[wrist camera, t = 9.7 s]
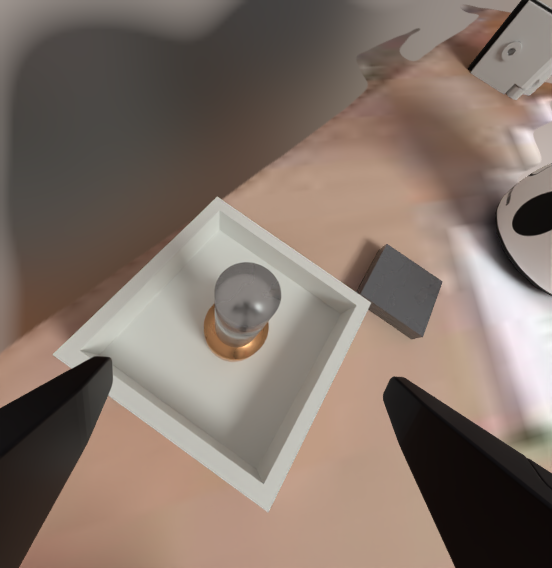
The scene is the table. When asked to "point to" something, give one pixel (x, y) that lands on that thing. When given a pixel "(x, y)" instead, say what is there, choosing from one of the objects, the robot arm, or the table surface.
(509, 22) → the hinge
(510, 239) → the milk container
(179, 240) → the bin
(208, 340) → the knob
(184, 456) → the table surface
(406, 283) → the stud plate
